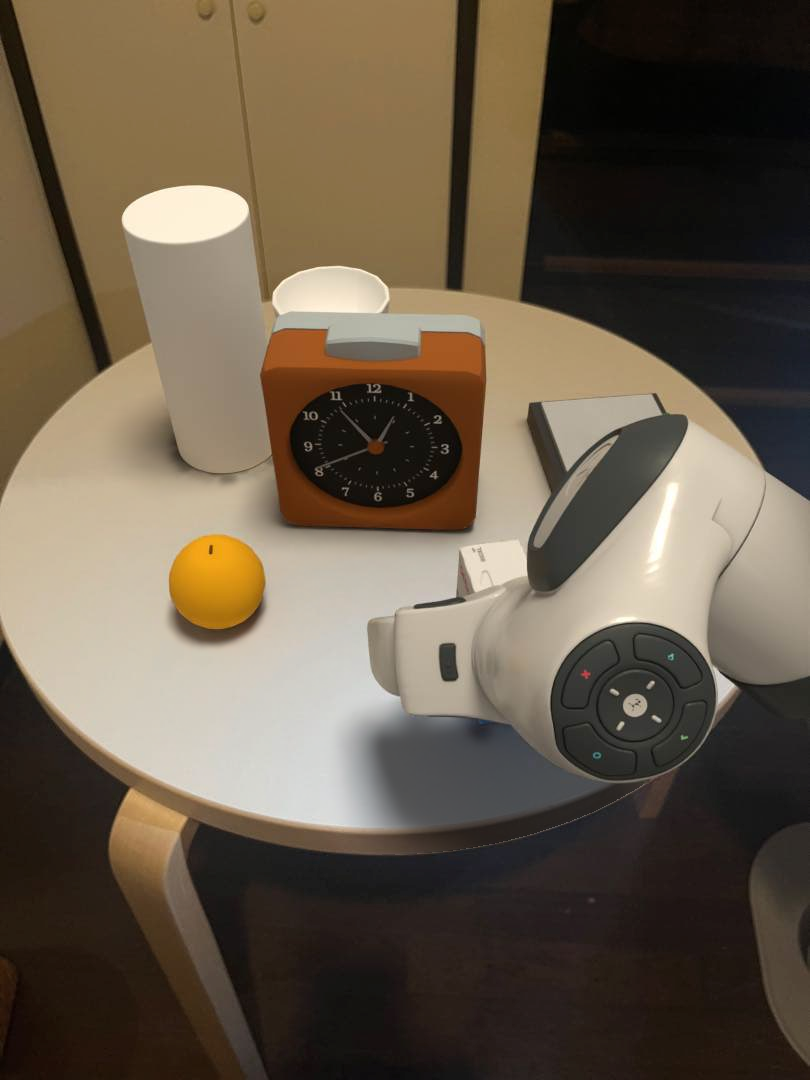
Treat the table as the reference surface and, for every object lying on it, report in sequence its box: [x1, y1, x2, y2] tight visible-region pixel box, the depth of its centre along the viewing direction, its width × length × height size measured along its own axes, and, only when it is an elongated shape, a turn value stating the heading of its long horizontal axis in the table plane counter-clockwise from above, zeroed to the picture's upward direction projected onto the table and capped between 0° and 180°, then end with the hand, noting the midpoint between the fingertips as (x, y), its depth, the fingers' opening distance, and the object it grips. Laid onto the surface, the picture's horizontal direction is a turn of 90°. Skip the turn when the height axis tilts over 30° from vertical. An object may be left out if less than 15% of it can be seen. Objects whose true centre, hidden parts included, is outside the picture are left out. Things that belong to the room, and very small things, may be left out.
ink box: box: [455, 538, 527, 725], centre depth 66 cm, size 8×5×12 cm, turn 12°
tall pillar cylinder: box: [121, 184, 272, 474], centre depth 82 cm, size 11×11×25 cm
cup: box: [271, 265, 391, 320], centre depth 94 cm, size 12×12×11 cm
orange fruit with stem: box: [168, 533, 266, 630], centre depth 73 cm, size 8×8×8 cm
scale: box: [526, 392, 671, 493], centre depth 88 cm, size 14×13×3 cm
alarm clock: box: [260, 311, 487, 531], centre depth 77 cm, size 18×9×21 cm, turn 87°
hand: (497, 623), depth 65 cm, fingers open, 8 cm apart
